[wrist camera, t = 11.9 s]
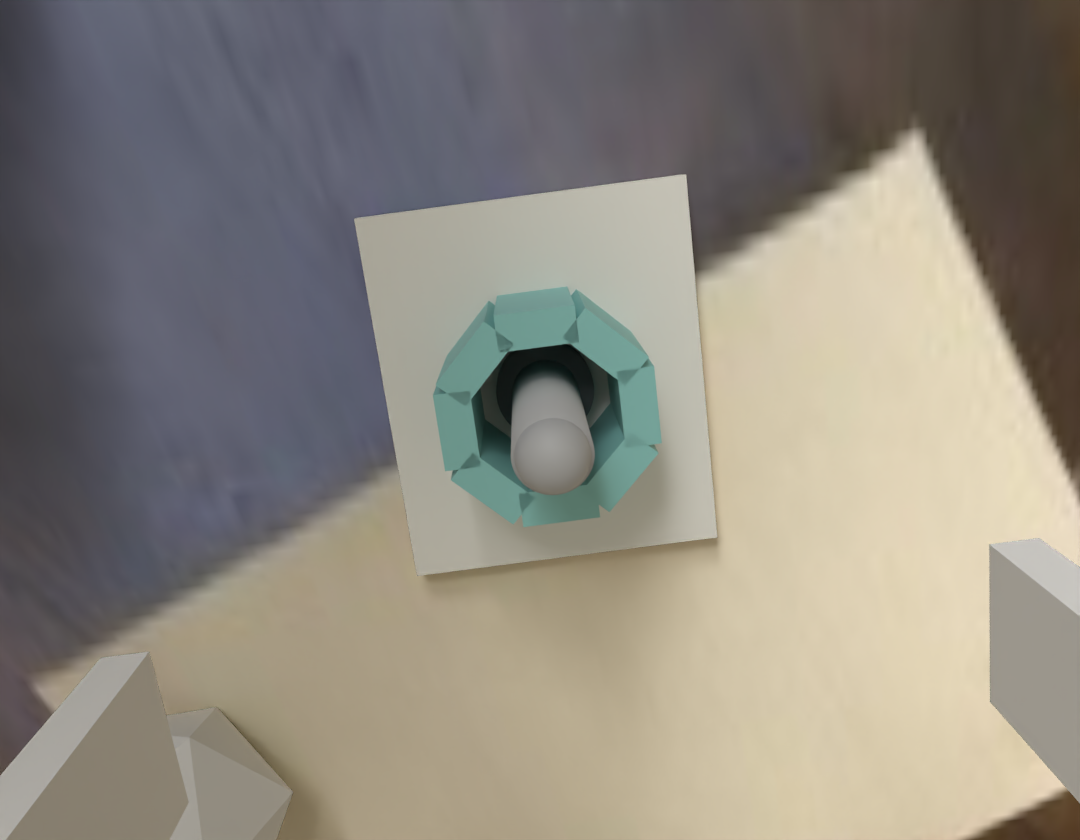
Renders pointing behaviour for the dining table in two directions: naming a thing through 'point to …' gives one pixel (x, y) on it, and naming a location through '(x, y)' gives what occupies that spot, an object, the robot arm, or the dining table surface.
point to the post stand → (542, 363)
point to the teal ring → (615, 434)
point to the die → (224, 781)
